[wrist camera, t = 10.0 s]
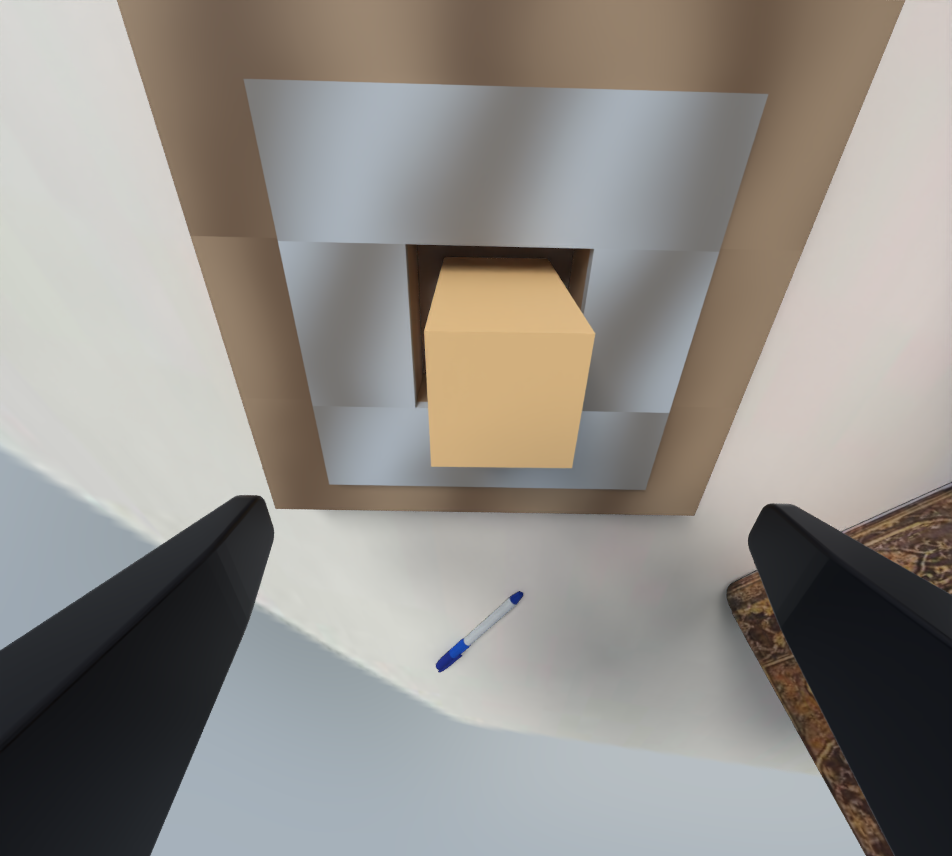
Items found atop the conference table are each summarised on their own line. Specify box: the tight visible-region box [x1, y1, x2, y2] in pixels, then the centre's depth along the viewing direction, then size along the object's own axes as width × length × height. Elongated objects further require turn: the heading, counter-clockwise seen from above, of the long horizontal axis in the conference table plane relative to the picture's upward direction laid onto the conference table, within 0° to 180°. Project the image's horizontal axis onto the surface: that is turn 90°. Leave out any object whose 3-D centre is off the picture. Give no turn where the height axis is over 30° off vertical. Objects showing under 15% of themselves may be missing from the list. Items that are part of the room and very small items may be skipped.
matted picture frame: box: [117, 0, 905, 516], centre depth 17 cm, size 20×18×3 cm
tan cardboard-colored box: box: [424, 257, 595, 468], centre depth 15 cm, size 4×4×8 cm
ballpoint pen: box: [436, 591, 523, 672], centre depth 30 cm, size 10×1×1 cm, turn 148°
